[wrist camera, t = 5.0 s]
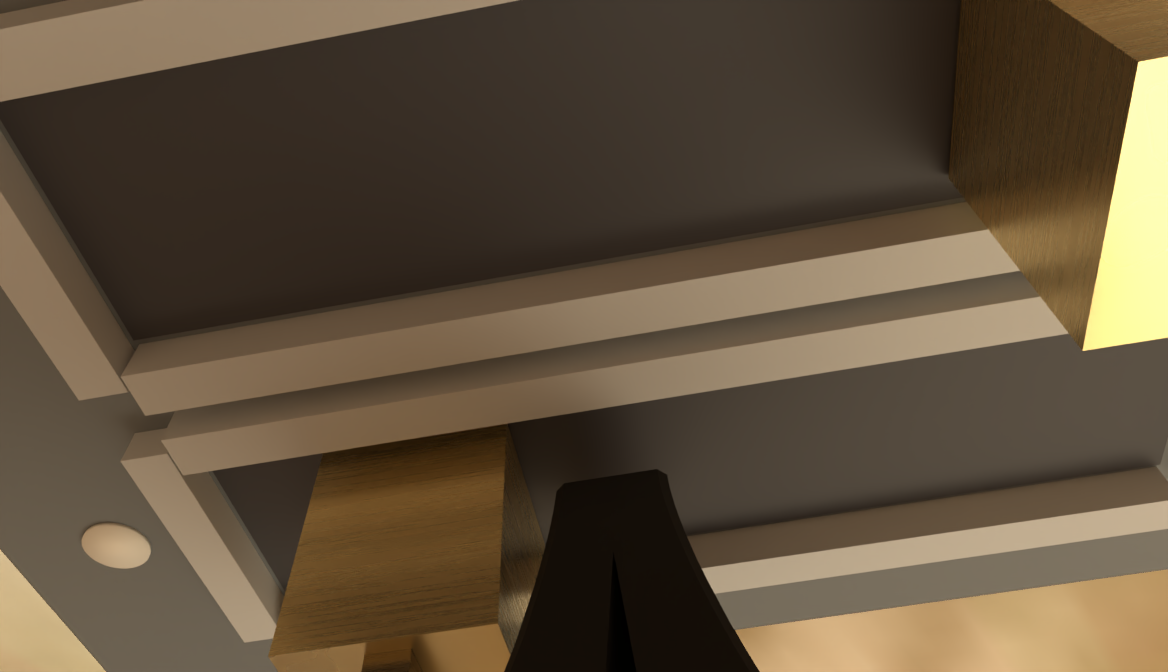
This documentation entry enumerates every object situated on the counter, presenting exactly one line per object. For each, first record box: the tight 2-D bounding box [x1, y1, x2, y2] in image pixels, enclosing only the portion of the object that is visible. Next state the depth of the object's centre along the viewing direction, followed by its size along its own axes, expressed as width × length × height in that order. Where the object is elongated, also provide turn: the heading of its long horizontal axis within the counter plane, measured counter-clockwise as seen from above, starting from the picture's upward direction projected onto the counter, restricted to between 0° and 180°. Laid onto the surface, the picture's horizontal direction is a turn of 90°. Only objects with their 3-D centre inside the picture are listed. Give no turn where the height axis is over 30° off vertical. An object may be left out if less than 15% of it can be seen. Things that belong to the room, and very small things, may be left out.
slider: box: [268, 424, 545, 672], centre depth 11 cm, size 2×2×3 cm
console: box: [0, 0, 1168, 672], centre depth 10 cm, size 16×20×2 cm
